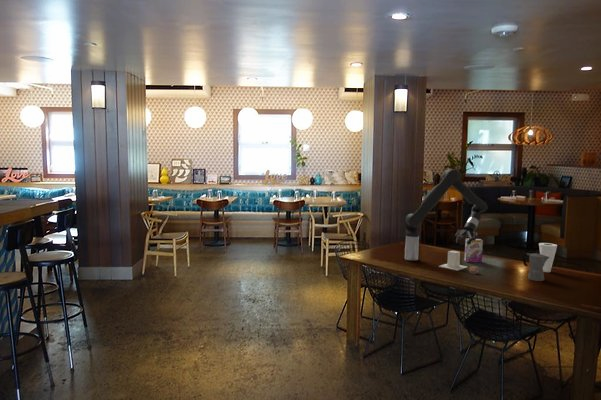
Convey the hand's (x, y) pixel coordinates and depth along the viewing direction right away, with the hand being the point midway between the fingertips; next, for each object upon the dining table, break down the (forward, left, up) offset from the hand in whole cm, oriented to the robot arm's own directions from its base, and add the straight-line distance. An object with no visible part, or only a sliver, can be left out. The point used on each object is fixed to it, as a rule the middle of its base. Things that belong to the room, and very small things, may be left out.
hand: (462, 243), depth 311 cm
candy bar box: (+10, +10, -15) cm, 21 cm away
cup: (+52, -9, -15) cm, 55 cm away
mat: (-7, -8, -15) cm, 18 cm away
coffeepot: (+37, -30, -15) cm, 50 cm away
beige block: (-7, -8, -15) cm, 18 cm away
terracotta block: (+3, -22, -15) cm, 27 cm away
